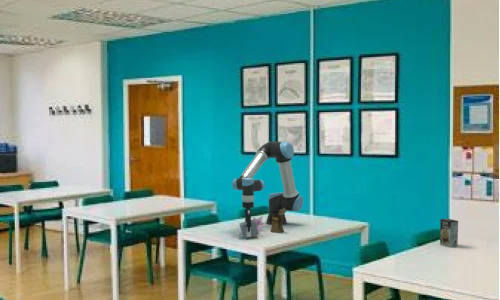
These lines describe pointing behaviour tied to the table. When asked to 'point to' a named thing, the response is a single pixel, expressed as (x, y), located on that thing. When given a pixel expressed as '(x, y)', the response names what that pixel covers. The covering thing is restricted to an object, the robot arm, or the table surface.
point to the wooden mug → (278, 221)
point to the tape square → (247, 238)
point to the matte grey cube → (253, 229)
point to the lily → (259, 223)
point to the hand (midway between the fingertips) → (248, 235)
